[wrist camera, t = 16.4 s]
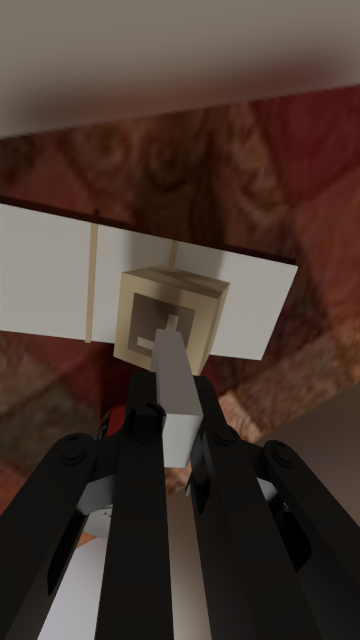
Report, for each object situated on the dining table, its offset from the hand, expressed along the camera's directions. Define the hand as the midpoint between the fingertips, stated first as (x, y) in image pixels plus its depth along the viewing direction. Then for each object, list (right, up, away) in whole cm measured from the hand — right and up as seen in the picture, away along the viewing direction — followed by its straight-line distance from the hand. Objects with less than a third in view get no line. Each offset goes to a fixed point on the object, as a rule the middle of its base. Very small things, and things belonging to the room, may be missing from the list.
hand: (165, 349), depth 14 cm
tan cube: (-1, +1, +2) cm, 2 cm away
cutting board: (-2, +4, +10) cm, 11 cm away
